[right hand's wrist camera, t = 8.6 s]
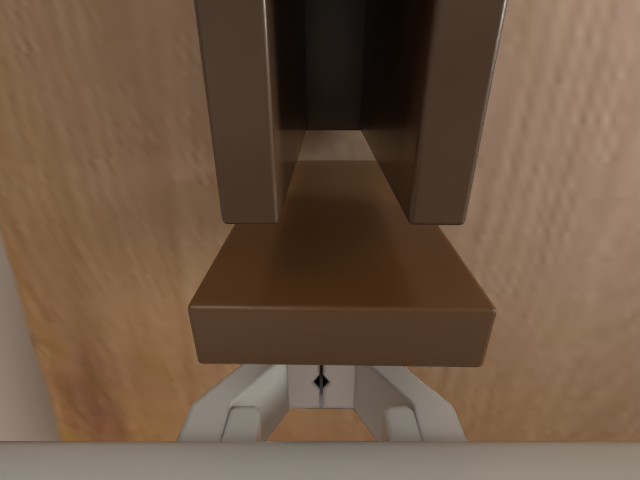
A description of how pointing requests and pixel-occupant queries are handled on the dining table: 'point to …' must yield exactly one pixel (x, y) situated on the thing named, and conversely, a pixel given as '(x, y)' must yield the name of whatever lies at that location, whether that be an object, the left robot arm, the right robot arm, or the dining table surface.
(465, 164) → the drawer
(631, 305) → the dining table surface
